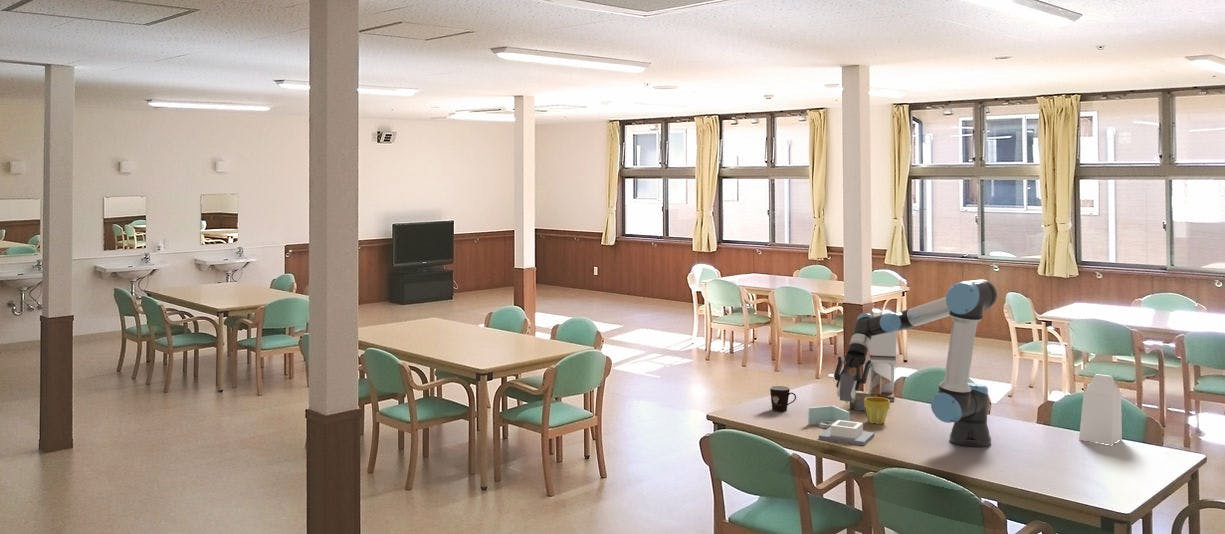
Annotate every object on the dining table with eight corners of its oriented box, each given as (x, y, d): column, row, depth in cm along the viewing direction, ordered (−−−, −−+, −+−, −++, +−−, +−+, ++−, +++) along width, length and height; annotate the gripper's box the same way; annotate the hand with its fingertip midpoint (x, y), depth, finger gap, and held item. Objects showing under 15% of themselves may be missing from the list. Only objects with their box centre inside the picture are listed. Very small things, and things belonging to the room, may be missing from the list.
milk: (1078, 440, 374) (1081, 375, 371) (1089, 434, 382) (1092, 370, 379) (1111, 446, 365) (1114, 379, 363) (1121, 440, 373) (1125, 375, 371)
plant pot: (886, 419, 405) (887, 396, 404) (891, 425, 395) (892, 402, 394) (861, 418, 406) (862, 396, 406) (865, 425, 396) (866, 402, 395)
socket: (874, 436, 379) (874, 422, 378) (864, 445, 366) (864, 431, 365) (830, 430, 388) (830, 417, 387) (818, 439, 375) (818, 425, 374)
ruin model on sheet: (849, 410, 422) (850, 389, 421) (849, 409, 425) (850, 387, 424) (876, 412, 419) (876, 391, 418) (876, 411, 422) (876, 389, 421)
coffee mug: (765, 409, 423) (766, 386, 422) (781, 407, 427) (782, 385, 426) (780, 414, 413) (781, 392, 412) (797, 412, 417) (797, 390, 416)
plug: (855, 401, 377) (856, 374, 376) (852, 404, 373) (853, 376, 372) (843, 400, 380) (844, 373, 379) (839, 402, 375) (840, 375, 374)
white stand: (868, 400, 440) (870, 325, 437) (868, 395, 450) (870, 322, 447) (894, 401, 437) (896, 326, 434) (893, 396, 447) (895, 322, 444)
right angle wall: (808, 425, 397) (808, 407, 396) (832, 422, 401) (833, 405, 401) (824, 432, 386) (824, 414, 385) (849, 430, 390) (849, 412, 389)
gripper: (882, 355, 383) (869, 403, 371) (838, 350, 392) (824, 397, 380) (879, 344, 378) (866, 393, 365) (835, 339, 387) (820, 387, 375)
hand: (845, 395), depth 373 cm, fingers closed on plug, 5 cm apart
